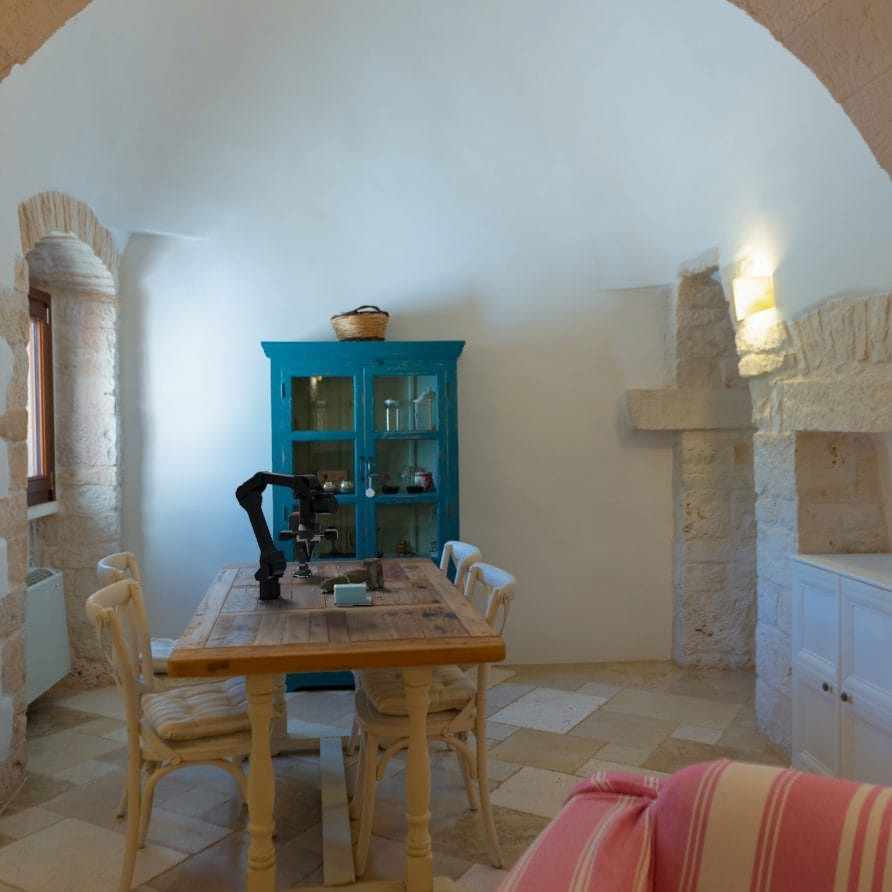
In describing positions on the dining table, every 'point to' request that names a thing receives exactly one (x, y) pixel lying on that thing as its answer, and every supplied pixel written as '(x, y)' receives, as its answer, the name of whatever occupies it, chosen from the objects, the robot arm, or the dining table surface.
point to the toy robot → (299, 546)
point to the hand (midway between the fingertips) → (309, 561)
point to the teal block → (349, 593)
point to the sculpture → (358, 576)
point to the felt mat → (368, 602)
